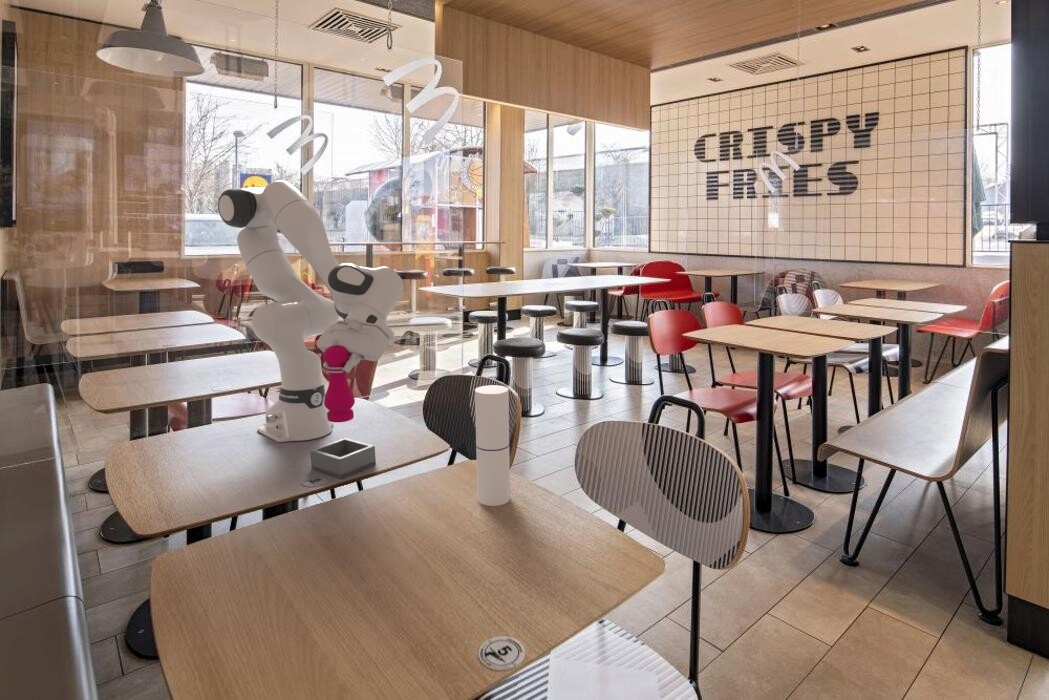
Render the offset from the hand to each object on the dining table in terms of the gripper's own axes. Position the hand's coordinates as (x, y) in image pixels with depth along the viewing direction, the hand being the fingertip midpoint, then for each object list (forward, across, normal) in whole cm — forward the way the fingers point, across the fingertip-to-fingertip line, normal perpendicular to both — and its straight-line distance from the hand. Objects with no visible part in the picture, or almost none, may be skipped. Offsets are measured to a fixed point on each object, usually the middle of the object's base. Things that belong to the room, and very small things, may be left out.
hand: (335, 369), depth 154 cm
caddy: (+18, 0, +18) cm, 25 cm away
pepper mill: (+9, 0, +10) cm, 13 cm away
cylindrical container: (+14, +43, +22) cm, 50 cm away
